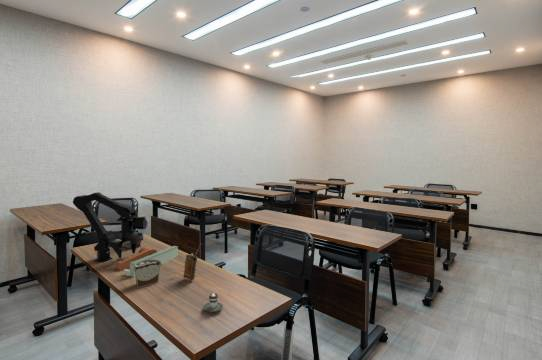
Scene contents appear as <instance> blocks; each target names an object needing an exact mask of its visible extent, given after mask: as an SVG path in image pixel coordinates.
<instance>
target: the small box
mask: <svg viewBox="0 0 542 360" xmlns="http://www.w3.org/2000/svg"><path fill="white" fill-rule="evenodd" d="M138 233H139V232H138V231H135V234H138ZM141 243H142V241H141V242H140V243H139V244H138V245H137V248H136V249H139V247H140V248H142V246H141V245H142V244H141ZM123 247H125V248H127V249H129V250H131V251H132V248H131V242H127V243H124V244H123Z"/></svg>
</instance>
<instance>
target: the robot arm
mask: <svg viewBox="0 0 542 360" xmlns="http://www.w3.org/2000/svg"><path fill="white" fill-rule="evenodd" d="M94 201H95V202H98V203H99V204H101V205H104V206H105V207H107V208H110V209H111V210H113V211H114V212H115V213H116V214H117V215H119V216H120V217H119V218H118V219H116V221H117V222H120V230H119V233H120V237H119V240H116V238H115V237H116V235H114V234H113V231H112V230H109V231H108V230H107V229H106V228H105V226H104V225H103V223H102V221H101V220H100V217H98V215H97V213H96V212H95V210H94V209H93V202H94ZM72 203H73V205H74V207H76V209H77V210H79V211H80V212H82V213H83V215H84V216H85V218H86V219H87V221H88V223H89V224H90V225H91V227H92V229H93V230H94V231H93V232H95V234H96V240H97V243H96V245H94V247H93V249H94V251H95V252H96V258H94V259H93V261H97V262H101V263H102V262H106V261H109V260H112V259H113V257H111V249H113V250H114V252H115V254H116V255H117V257H118V258H119V259H122V256H123V254H122V252H123V251H122V250H123V248H124V243H127V242H131V248H132V250H131V252H132V254H133V255H135V254H136V253H135V252H136V251H137V249H138V248H137V245H138V244H139V243H140V242H141V243H142V241H144V234H143V232H138V234H135V232H136V231H135V230H146V229H147V227H148V221H147V218H146V216H138V214H137V212H135V209H134V206H131V205H129V204H126V203H120V202H118V201H116V200H114V199H112V198H110V197H108V196H105V195H104V194H103V193H101V192H98V191H97V192H93V193H91V194H87V195H86V194H83V195H77V196H75V197H74V198H73V200H72ZM134 229H135V230H134Z"/></svg>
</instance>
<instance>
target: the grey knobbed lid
mask: <svg viewBox="0 0 542 360" xmlns="http://www.w3.org/2000/svg"><path fill="white" fill-rule="evenodd" d="M208 299H209V302H207V303H205V304H203V306H202V309H203V310H204V312H205V311H206V312H211V313H214V312H218V311H220V310H221V309H223V308H224V307H223V304H222V303H221V302H219V301H218V299H219V296H218V294H217V293H216V292H214V293H210V294H209V295H208Z"/></svg>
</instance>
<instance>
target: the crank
mask: <svg viewBox="0 0 542 360" xmlns="http://www.w3.org/2000/svg"><path fill="white" fill-rule="evenodd" d="M157 252H158V251H157V250H156V249H154V248H152V247H150V246H143V247H142V246H141V247H140V249H139V250H138V253H137V254H136V253H135V254H133V255H132V256H130V257H129V256H128V257H127V258H125V259H123V260H117V261H116V262H115V268H116V269H118V270H119V271H124V270H125V269H127V270H130V263H131V262H134V261H136V260H139V259H141V258H144V257H146V256H149V255H152V254H154V253H157Z"/></svg>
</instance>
